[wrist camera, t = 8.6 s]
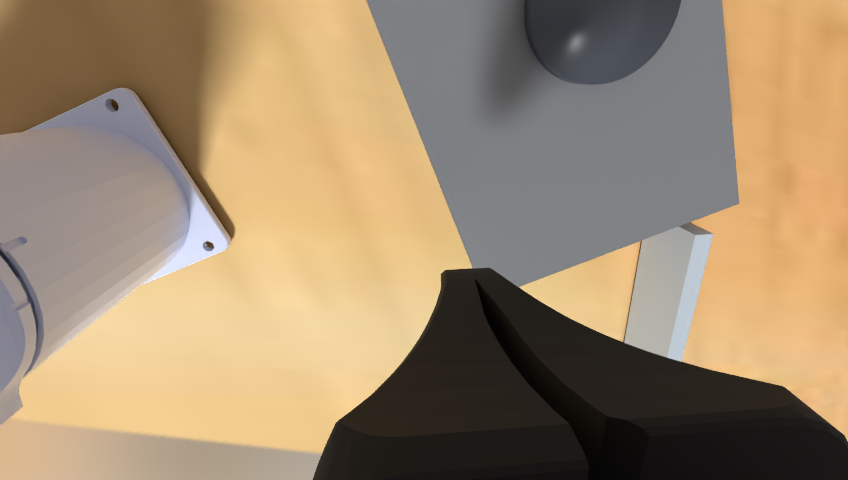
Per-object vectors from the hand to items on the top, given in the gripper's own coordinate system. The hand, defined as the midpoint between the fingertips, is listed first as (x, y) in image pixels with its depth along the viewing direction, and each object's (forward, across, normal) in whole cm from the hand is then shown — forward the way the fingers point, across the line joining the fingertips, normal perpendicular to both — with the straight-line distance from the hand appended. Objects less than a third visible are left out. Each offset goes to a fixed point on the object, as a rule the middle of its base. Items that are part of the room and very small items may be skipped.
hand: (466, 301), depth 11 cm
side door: (+9, -12, +7) cm, 17 cm away
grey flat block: (+9, -5, -5) cm, 12 cm away
